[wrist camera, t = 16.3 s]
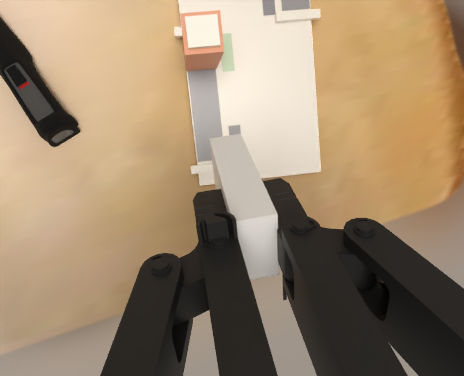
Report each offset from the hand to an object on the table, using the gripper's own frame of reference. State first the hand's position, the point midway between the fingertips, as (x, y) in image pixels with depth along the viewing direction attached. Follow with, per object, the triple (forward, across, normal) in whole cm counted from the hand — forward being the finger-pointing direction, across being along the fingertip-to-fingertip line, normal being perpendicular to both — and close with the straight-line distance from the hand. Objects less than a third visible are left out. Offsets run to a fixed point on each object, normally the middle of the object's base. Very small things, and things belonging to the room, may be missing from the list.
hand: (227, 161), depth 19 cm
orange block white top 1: (+24, +1, 0) cm, 24 cm away
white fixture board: (+26, +6, 0) cm, 27 cm away
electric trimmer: (+26, -17, -1) cm, 31 cm away
